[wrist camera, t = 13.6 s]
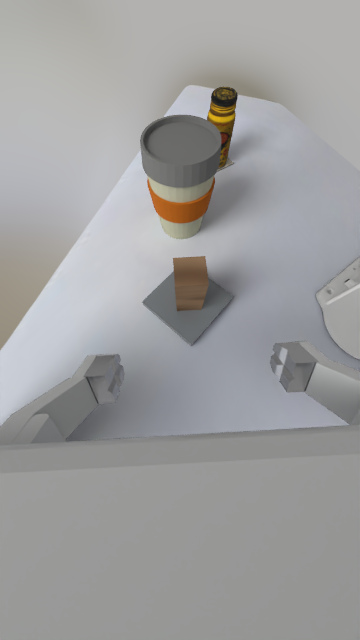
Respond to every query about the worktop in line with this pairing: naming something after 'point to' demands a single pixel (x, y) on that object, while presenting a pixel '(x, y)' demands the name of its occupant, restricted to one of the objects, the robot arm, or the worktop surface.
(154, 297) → the slate coaster
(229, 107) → the condiment
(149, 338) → the worktop surface
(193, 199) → the reusable coffee cup
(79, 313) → the worktop surface
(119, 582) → the robot arm
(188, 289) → the walnut block
